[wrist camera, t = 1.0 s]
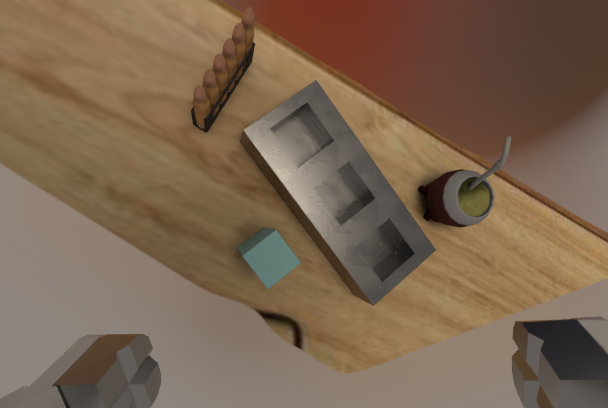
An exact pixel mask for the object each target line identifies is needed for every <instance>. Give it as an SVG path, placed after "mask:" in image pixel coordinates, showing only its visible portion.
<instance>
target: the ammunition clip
mask: <svg viewBox="0 0 608 408" xmlns="http://www.w3.org/2000/svg"><path fill="white" fill-rule="evenodd" d="M253 38H254V13H253V10H252V9H251V7H249V8H247V9H246V11H245V12H244V14H243V17H242V22H241V23H238V24H237V25H236V26H235V28H234V30H233V34H232V39H230V38H229V39H227V40H226V41H225V43H224V46H223V51H222V55H221V54H218V55H216V57H215V59H214V62H213V69H212V70H207V71H206V72H205V74H204V78H203V85H202V86H200V85H198V86H196V88H195V89H194V99H193V108H192V110H191V113H192V119H193V125H195V126H196V127H198V128H200V129H201V130H203V131H205V132H208V130H209V129H210V127H211V126H212V124H213V122H214V121H215V119H216V118H217V116H218V114H219V113H220V111H221V110H222V108H223V107H224V105H225V103H226V102H227V100H228V99H229V97H230V95H231V94H232V92H233V91H234V89H235V87H236V86H237V84H238V83H239V81H240V80H241V78H242V76H243V75H244V73H245V72H246V70H247V68H248V67H249V65H250V64H251V62H252V58H253V52H254V46H255V43H254V42H253Z"/></svg>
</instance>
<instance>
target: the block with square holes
mask: <svg viewBox="0 0 608 408" xmlns="http://www.w3.org/2000/svg"><path fill="white" fill-rule="evenodd" d="M240 142H241V144H242V145H243V146H244V148H245V149H246V151H247V152H248V153H249V155H250V156H251V157H252V159H253V160H254V161H255V163H256V164H257V165H258V167H259V168H260V169H261V171H262V172H263V173H264V175H265V176H266V177H267V179H268V180H269V181H270V183H271V184H272V185H273V187H274V188H275V189H276V191H277V192H278V193H279V195H280V196H281V197H282V199H283V200H284V202H285V203H286V204H287V206H288V207H289V208H290V210H291V211H292V212H293V214H294V215H295V216H296V218H297V219H298V220H299V222H300V223H301V224H302V226H303V227H304V228H305V230H306V231H307V232H308V234H309V235H310V236H311V238H312V239H313V240H314V242H315V243H316V244H317V246H318V247H319V248H320V250H321V251H322V252H323V254H324V255H325V257H326V258H327V259H328V261H329V262H330V263H331V265H332V266H333V267H334V269H335V270H336V271H337V273H338V274H339V275H340V277H341V278H342V279H343V281H344V282H345V283H346V285H347V286H348V287H349V289H350V290H351V291H352V293H353V294H354V295H355V296H357V297H359V298H360V299H362V300H364V301H366V302H368V303H369V304H371V305H373V306H374V305H375V304H376V303H377V302H378V301H380V300H381V299H382V298H383V297H384V296H385V295H386V294H387V293H389V292H390V291H391V290H392V289H393V288H394V287H395V286H396V285H398V284H399V283H400V282H401V281H402V280H403V279H404V278H405V277H406V276H408V275H409V274H410V273H411V272H412V271H413V270H414V269H415V268H417V267H418V266H419V265H420V264H421V263H422V262H423V261H424V260H425V259H427V258H428V257H429V256H430V255H431V254H432V253H433V252H434V251H436V249H435V248H434V247H433V245H432V244H431V242H430V241H429V240H428V238H427V237H426V235H425V234H424V232H423V231H422V230H421V228H420V227H419V225H418V224H417V222H416V221H415V220H414V218H413V217H412V215H411V214H410V213H409V211H408V210H407V208H406V207H405V205H404V204H403V203H402V201H401V200H400V198H399V197H398V195H397V194H396V193H395V191H394V190H393V188H392V187H391V186H390V184H389V183H388V181H387V180H386V178H385V177H384V176H383V174H382V173H381V171H380V170H379V168H378V167H377V166H376V164H375V163H374V161H373V160H372V159H371V157H370V156H369V154H368V153H367V151H366V150H365V149H364V147H363V146H362V144H361V143H360V141H359V140H358V139H357V137H356V136H355V134H354V133H353V131H352V130H351V129H350V127H349V126H348V124H347V123H346V122H345V120H344V119H343V117H342V116H341V114H340V113H339V112H338V110H337V109H336V107H335V106H334V104H333V103H332V102H331V100H330V99H329V97H328V96H327V95H326V93H325V92H324V90H323V89H322V87H321V86H320V85H319V83H318V82H317V80H315V81H314V82H313V83H311V84H310V85H308V86H307V87H305V88H304V89H302V90H301V91H300V92H298V93H297V94H295V95H294V96H292V97H291V98H289V99H288V100H286V101H285V102H284V103H282V104H281V105H279V106H278V107H276V108H275V109H273V110H272V111H271V112H269V113H268V114H266V115H265V116H263V117H262V118H260V119H259V120H258V121H256V122H255V123H253V124H252V125H250V126H249V127H247V128H246V129H244V130H243V133H242V137H241V140H240Z"/></svg>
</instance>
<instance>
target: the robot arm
mask: <svg viewBox="0 0 608 408" xmlns="http://www.w3.org/2000/svg"><path fill="white" fill-rule="evenodd" d="M513 339H514V341H515V343H516V345H517V346H518V348H519V349H518V350H517V351H516V352H515V353H514V355H513V356H512V374H513V379H514V384H515V387H516V390H517V393H518V396H519V397H520V400H521V402H522V404H523V406H524V407H525V408H608V320H606V319H604V318H602V317H584V318H571V319H562V320H538V321H516V322H515V324H514V327H513ZM152 349H153V347H152V345H151V342H150V340H149V337H148V336H146V335H143V334H110V335H109V334H107V335H87V336H84V337H81V338H80V339H79V340H78V341H77V342H75V343H74V344H73V345H72V346H71V347H70V348H69V349H68V350H67V351H66V352H65V353H64V354H63V355H62V356H61V357H60V358H59V359H58V360H57V361H55V362H54V363H53V364H52V365H51V366H50V367H49V368H48V369H47V370H46V371H45V372H44V373H43V374H42V375H41V376H40V377H39V378H38V379H37V380H35V381H34V382H33V383H32V384H31V385H30V386H24V387H21V388H19V389H18V390H16V391H14V392H12V393H10V394H8V395H6V396H5V397H3V398H1V399H0V408H150V407H151V406H152V404H153V402H154V401H155V399H156V397H157V396H158V392H159V388H160V384H161V373H160V368H159V365H158V363H157V362H156V361H155V360H154V359H152V358H151V357H150V354H151V351H152Z"/></svg>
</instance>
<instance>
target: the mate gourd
mask: <svg viewBox="0 0 608 408" xmlns="http://www.w3.org/2000/svg"><path fill="white" fill-rule="evenodd" d="M510 142H511V136H509V137H507V138H506V142H505V146H504V149H503V153H502V156H501V158H500V160H498V161H497V162H496V163H495V164H494V165H493V167H492V168H490V169H489V170H488V171H487V172H485V173H484V174H483V175H480V174H479V173H478V172H474V171H470V170H463V169H461V170H455V171H450V172H447V173H445V174H443V175H442V176H440V177H439V178H437V179H436V180H434V181H433V182H432V183H430V184H428V185H426V186H425V187H423V186H419V188H418V191H419V192H420V193H421V194H423V195H424V196H425V197H427V203H428V209H427V211H426V213H425V215H424V217H423V218H424V219H425V220H427V221H429V220H430V219H431V220H433V221H435V222H440V223H443V224H446V225H450V226H455V227H466V226H470V225H474V224H478V223H480V222H481V221H482V220H483V219H484V218H486V217H487V216H488V214H489V213H490V211H491V209H492V207H493V203H494V193H493V188H492V187H491V185H490V183H489V182H488V180H487V179H486V178H487V177H488V176H490V175H491V174H492V173H494V172H495V171H498V170H500V169H501V168H502V167H503V166H504V162H505V161H506V158H507V156H508V153H509V148H510Z"/></svg>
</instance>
